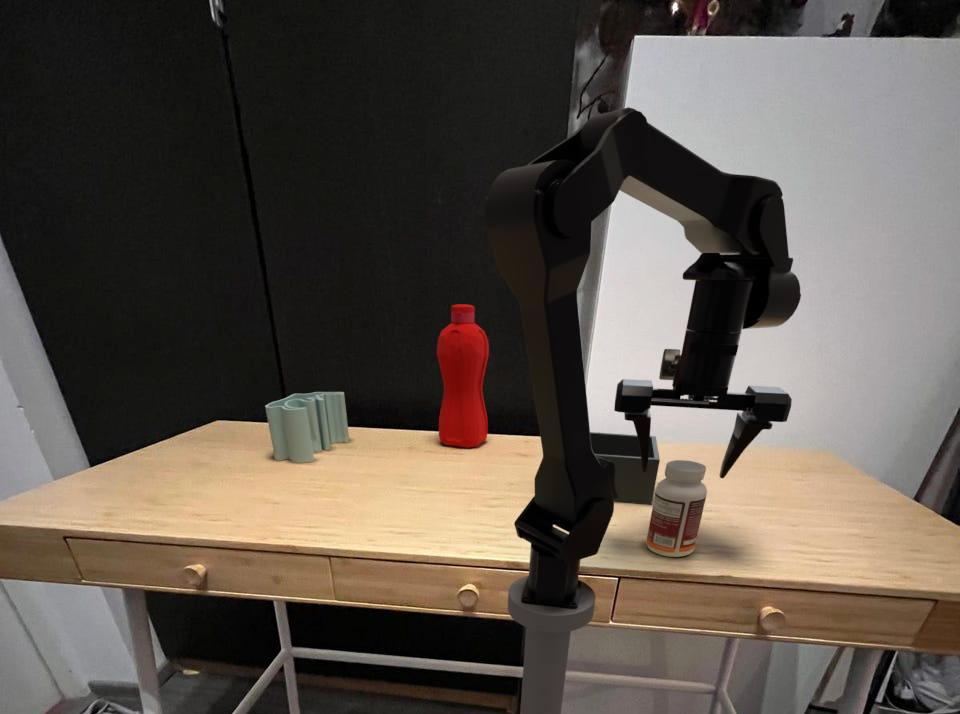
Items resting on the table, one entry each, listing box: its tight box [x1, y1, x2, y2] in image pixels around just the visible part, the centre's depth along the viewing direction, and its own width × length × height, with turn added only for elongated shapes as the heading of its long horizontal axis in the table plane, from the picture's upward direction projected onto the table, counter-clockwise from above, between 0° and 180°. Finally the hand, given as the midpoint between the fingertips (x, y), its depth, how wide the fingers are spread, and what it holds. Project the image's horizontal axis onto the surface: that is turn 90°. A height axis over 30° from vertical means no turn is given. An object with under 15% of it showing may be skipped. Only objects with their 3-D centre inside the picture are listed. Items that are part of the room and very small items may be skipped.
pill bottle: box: [646, 459, 708, 558], centre depth 72 cm, size 6×6×11 cm
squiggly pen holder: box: [264, 391, 350, 464], centre depth 110 cm, size 18×10×9 cm, turn 171°
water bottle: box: [436, 303, 490, 449], centre depth 112 cm, size 9×11×25 cm
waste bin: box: [590, 431, 661, 505], centre depth 94 cm, size 15×15×7 cm
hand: (682, 474), depth 70 cm, fingers open, 9 cm apart
